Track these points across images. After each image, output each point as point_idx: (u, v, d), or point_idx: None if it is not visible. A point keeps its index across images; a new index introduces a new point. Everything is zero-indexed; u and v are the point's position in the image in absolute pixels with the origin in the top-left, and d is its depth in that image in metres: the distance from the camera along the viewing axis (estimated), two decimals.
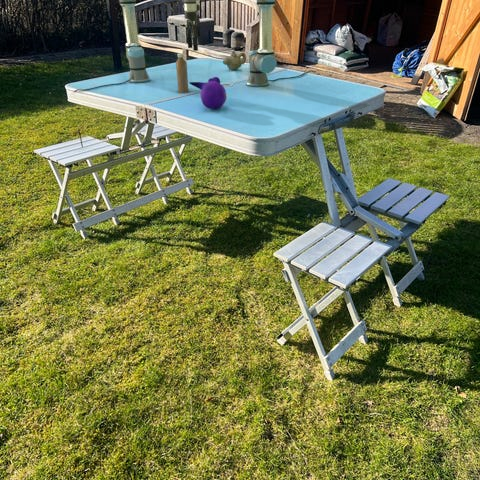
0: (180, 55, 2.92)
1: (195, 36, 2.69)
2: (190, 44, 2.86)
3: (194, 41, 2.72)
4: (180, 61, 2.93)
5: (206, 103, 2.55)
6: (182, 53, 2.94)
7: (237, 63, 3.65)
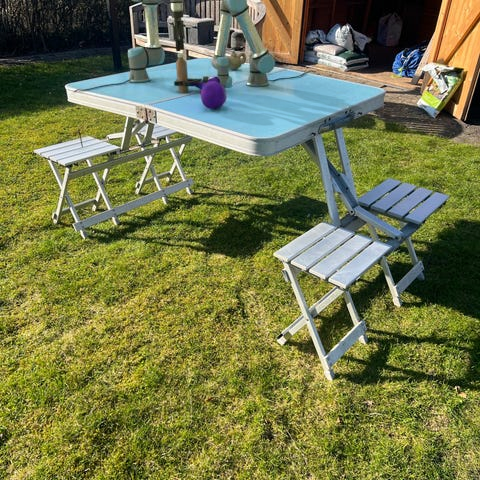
0: (180, 55, 2.92)
1: None
2: None
3: None
4: (180, 61, 2.93)
5: (206, 103, 2.55)
6: (182, 53, 2.94)
7: (237, 63, 3.65)
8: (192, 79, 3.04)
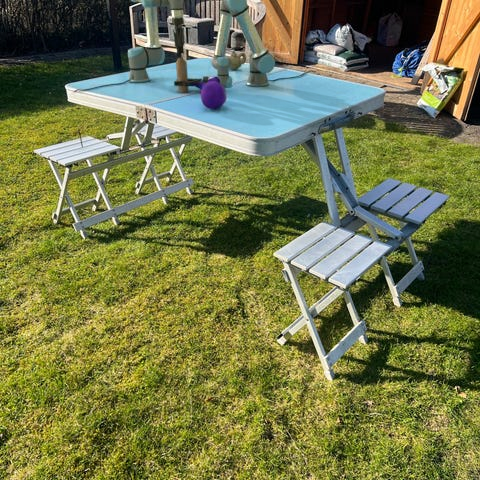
0: None
1: None
2: None
3: None
4: (180, 61, 2.93)
5: (206, 103, 2.55)
6: (182, 53, 2.94)
7: (237, 63, 3.65)
8: (192, 79, 3.04)
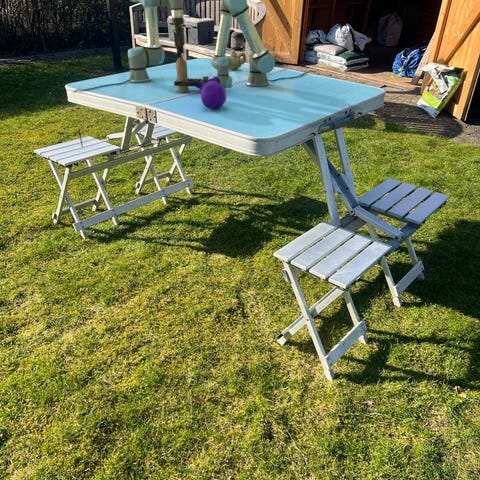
0: None
1: None
2: None
3: None
4: (180, 61, 2.93)
5: (206, 103, 2.55)
6: None
7: (237, 63, 3.65)
8: (192, 79, 3.04)
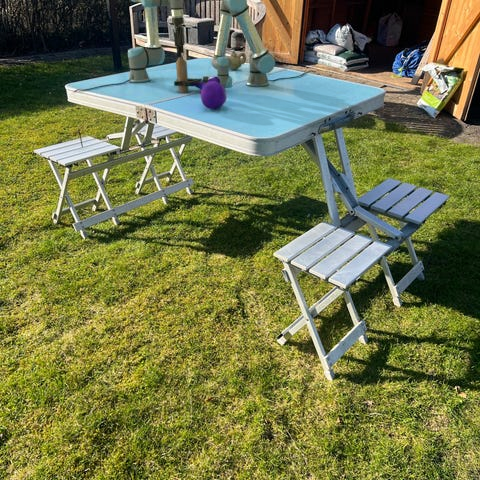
0: None
1: None
2: None
3: None
4: (180, 61, 2.93)
5: (206, 103, 2.55)
6: None
7: (237, 63, 3.65)
8: (192, 79, 3.04)
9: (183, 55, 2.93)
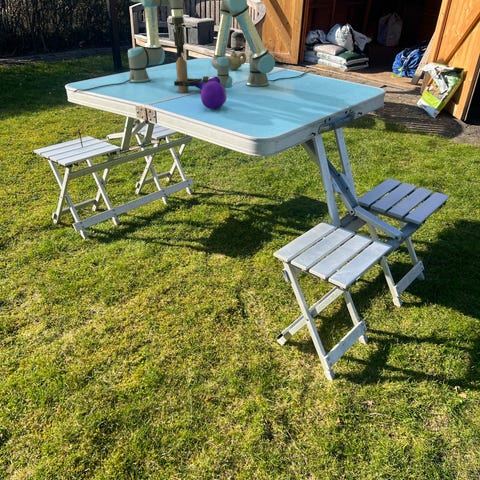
0: None
1: None
2: None
3: None
4: (180, 61, 2.93)
5: (206, 103, 2.55)
6: (183, 53, 2.93)
7: (237, 63, 3.65)
8: (192, 79, 3.04)
9: None
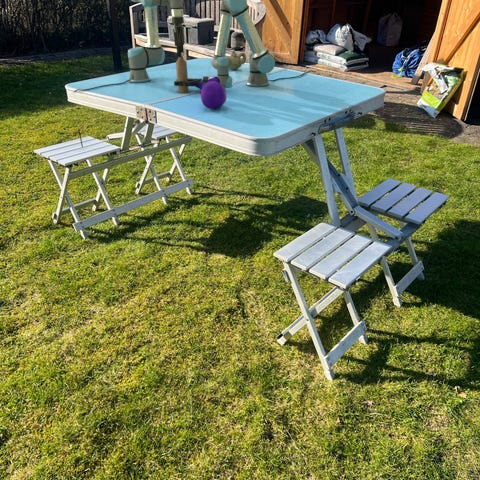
0: (183, 54, 2.93)
1: None
2: None
3: None
4: (180, 61, 2.93)
5: (206, 103, 2.55)
6: None
7: (237, 63, 3.65)
8: (192, 79, 3.04)
9: None
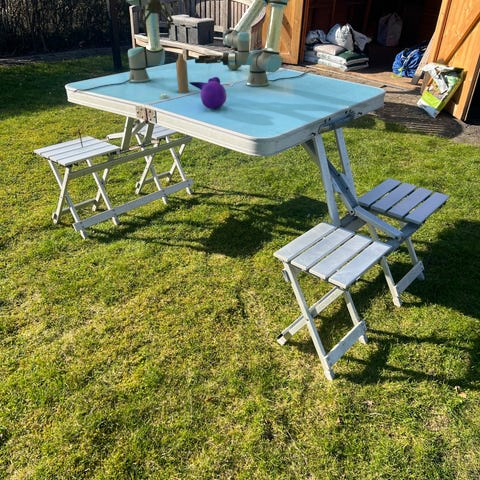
0: None
1: None
2: None
3: None
4: (180, 61, 2.93)
5: (206, 103, 2.55)
6: (161, 95, 2.89)
7: None
8: (213, 55, 2.97)
9: (165, 97, 2.89)
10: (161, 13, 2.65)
